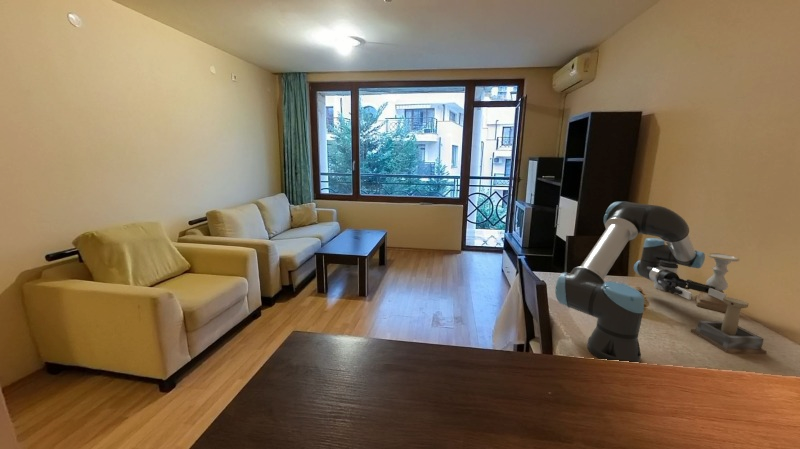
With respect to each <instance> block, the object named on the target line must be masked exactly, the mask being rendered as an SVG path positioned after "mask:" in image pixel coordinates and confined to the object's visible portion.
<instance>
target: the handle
mask: <svg viewBox="0 0 800 449" xmlns="http://www.w3.org/2000/svg"><path fill="white" fill-rule="evenodd" d="M723 302H724V303H726V304H727V305H728V306H727V310H726V313H725V314H724V317H723V320H722V321H723V323H722V328H721V331H722V332H724V333H726V334H727V335H729V336H735V334H736V331H737V328H738V326H739V321H740V317H741V311H742V309H746V308H749V305H750V304H749V302H748V301H745V300H741V299H738V298H733V297H728V296H726V297H724V298H723Z"/></svg>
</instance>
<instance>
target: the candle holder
mask: <svg viewBox="0 0 800 449" xmlns="http://www.w3.org/2000/svg"><path fill="white" fill-rule="evenodd" d="M707 256H708V257H709V258H711V259H714V262H715V266H714V267H712V270H713V274H712V276H710V277H709V278H707V280H705V285H708V286H713V287H715V290H717V291H719V292H722V293H724V294H725V292H724V291H725V290H727V289H728V287H729V285H728V282H727V280H726V278H725V275H726V274H727V273H729V269H728V268H727V267H728V266H729V264H731V263H732V262H734V263H735V262H739V261H740V258H739V257H737V256H734V255H731V254H725V253H717V252H709V253H708V254H707ZM695 306H697V307H699V308H703V309H708V310H711V311H715V312H716V311H717V312H720V313H725V314H726V310H727V306H728V305H727V304H726V303H724V302H723V301H722V300H720V299H718V298H715V297H713V296H711V295H708V293H705V292H704V293H699V294H698V295H696V296H695Z"/></svg>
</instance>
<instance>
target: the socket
mask: <svg viewBox="0 0 800 449" xmlns="http://www.w3.org/2000/svg"><path fill="white" fill-rule="evenodd" d="M722 323H723V320H722V321H721V320H720V321H719V320H717V321H715V320H698V321H697V327H696V328H691V329H690V333H692V334H694V335H696V336H698V337H699V338H701V339H703V340H704V341H706V342H707V343H709V344H711V345H712V346H715V347H716V348H718V349H719V350H721V351H722V352H724V353H730V354H732V353H734V354H735V353H737V354H767V350H766V349H765V348H762V347H763V346H762V345H763V342H764V340H765V339H764V338H763V337H761V336H759V335H758V334H755V333H753V332H752V331H749V330H747V329H745V328H743V327H741V326H739V325H738V328H737V331H736V334H735V336H729V335H727V334H726V333H724V332H722V331H721V328H722Z"/></svg>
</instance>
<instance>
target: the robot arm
mask: <svg viewBox="0 0 800 449" xmlns="http://www.w3.org/2000/svg"><path fill="white" fill-rule="evenodd" d="M603 224H604V227H605V230H604V232H603V233H602V235H600V237H599V239H598V240H597V242H596V243H595V245H594V246H593V247H592V249H591V250H590V252H589V253H588V255H587V256H586V258H584V261H582V263H581V264H580V266H576V267H573V269H572V270H571V271H570V272H567V271H566V272H561V274H560V275H559V276H558V278H557V280H556V283H555V289H554V290H555V298H556V300H557V302H558V303H559V304H561V305H563V306H566V307H567V308H570V309H572V310H575V311H579V313H583V314H586V315H589V316H592V317H594V318H596V319H597V320H596V326H595V328H594V329H593V331H592V333H591V334H590V336H589V337H588V338H587V345H586V348H587V349H588V351H589V352H590V354H592V355H593V356H595V357H596V358H598V359H600V360H601V359H607V360H619V361H629V362H640V363H641V359H642V352H641V347H640V343H639V333H640V330H641V323H642V320H643V314H644V312H645V300H646V299H645V296H644V295H643V293H642V292H640V291H639V290H638V289H636V288H635V287H632V286H630V285H628V284H625V283H621V282H616V281H613V280H612V281H605V280H604V279H605V278H606V276H608V274H609V272H610V270H611V268H613V266H614V264H615V262H616V260H618V258H619V257H620V255H621V253H622V251H623V250H624V249H625V247H626V245H627V243H628V242H629V241H631V240H634V239H636V238H637V237H638V235H640V234H641V235H646V236H653V237H647V238H645V240H644V242H643V243H644V244H643V246H642V253H641V258H640V259H639V260H637V261H636V262H635V263H634V265H633V270H634V272H635V273H636V274H637V275H639V276H640V277H642V278H645V279H648V280H650V281H651V282H653V283H654V282H655V283H656V284H659V285H661V286H662V288H663V289H664V290H665V291H664V292H669V293H670V294H671V295H674V294H677V295H679V296H680V297H682V298H685V299H687V300H689V301H690V300H691V299H692V296H693V293H692V292H691V291H688V290H693V291H697V292H700V293H704V294H705V293H708V295H711V296H713V297H715V298H718V299H720V300H722V301H723V298H724V297H727V294H726V293H725V292H724V293H722V292H719V291H717V290H715V287H713V286H708V285H706V283H701V282H696V281H694V280H691V279H686V280H685V279H684V278H680V277H679V275H678V274H677V273H674V272H672V271H669V270H667V269H665V268H662V267H660V262H661V261H666V262H670V263H674V264H677V265H678V266H684V267H688V268H694V269H701V268H702V266H703V265H704V263H705V259H706V254H705V252H703V251H700V250H695V248H694V245H693V243H692V241H691V238H690V235H689V233H690V227H689V225H688V223H687V221H686V220H685V219H684V218H683V217H682V216H680V215H679V214H678V213H676V212H675V211H674V210H672V209H670V208H667V207H665V206H662V205H652V204H648V203H647V204H645V203H638V202H630V201H614V202H612V203H610V205H609V206H608V207H607V209H606V211H605V214H604V216H603ZM657 237H658V238H657Z"/></svg>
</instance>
